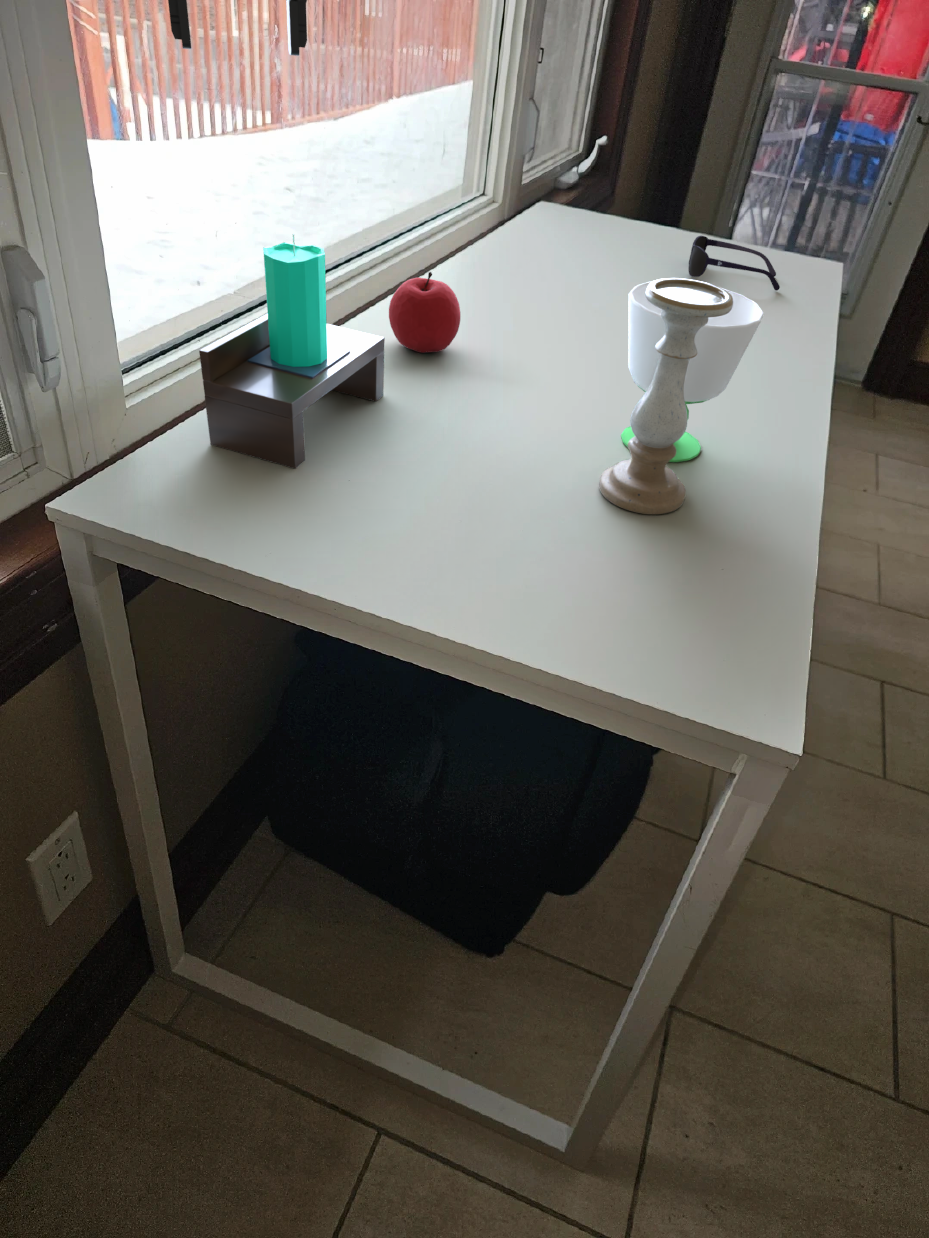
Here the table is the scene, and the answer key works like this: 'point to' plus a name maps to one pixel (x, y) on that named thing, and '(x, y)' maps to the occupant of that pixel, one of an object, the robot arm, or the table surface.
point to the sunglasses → (701, 260)
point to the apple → (424, 314)
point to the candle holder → (664, 400)
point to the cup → (705, 372)
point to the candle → (296, 304)
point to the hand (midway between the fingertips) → (241, 51)
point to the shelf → (280, 388)
